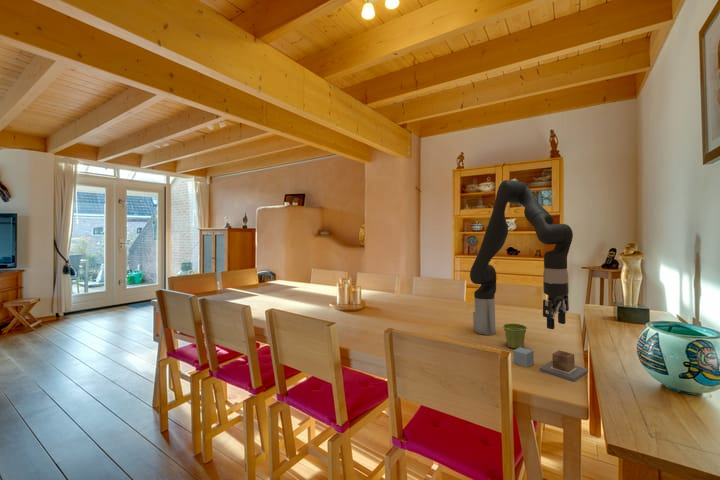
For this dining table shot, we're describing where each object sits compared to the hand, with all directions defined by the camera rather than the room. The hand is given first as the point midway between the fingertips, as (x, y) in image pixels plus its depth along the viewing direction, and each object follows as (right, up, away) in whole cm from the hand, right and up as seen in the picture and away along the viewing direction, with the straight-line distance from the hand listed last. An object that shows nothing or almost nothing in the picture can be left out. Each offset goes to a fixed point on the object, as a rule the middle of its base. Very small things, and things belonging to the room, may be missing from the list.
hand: (556, 326), depth 113 cm
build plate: (+2, -16, -1) cm, 16 cm away
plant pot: (-3, -15, +24) cm, 28 cm away
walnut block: (+2, -15, -1) cm, 15 cm away
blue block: (-8, -16, +7) cm, 19 cm away
